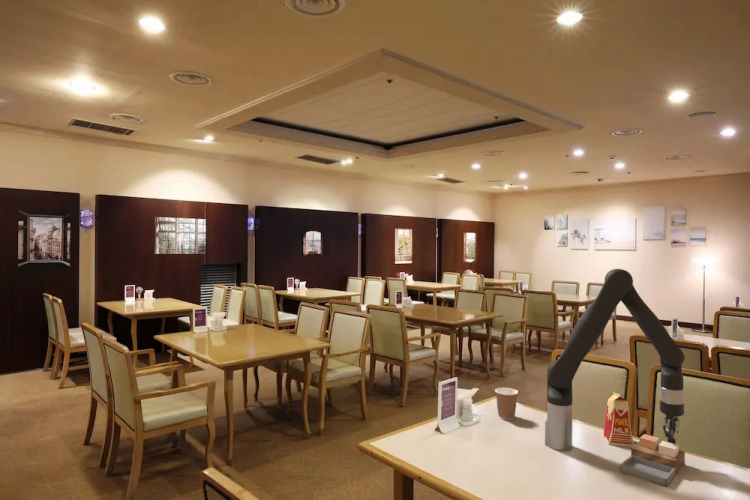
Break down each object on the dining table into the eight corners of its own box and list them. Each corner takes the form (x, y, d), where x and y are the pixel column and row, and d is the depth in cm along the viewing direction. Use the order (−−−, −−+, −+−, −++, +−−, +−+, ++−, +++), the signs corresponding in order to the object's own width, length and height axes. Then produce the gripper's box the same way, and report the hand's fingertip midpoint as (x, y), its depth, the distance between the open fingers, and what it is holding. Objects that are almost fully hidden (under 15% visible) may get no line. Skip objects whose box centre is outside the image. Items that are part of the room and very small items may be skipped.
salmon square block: (639, 445, 172) (639, 437, 172) (644, 441, 175) (644, 434, 175) (655, 450, 168) (655, 441, 168) (659, 446, 172) (659, 438, 171)
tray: (620, 471, 162) (620, 464, 162) (631, 461, 170) (631, 455, 170) (666, 486, 152) (666, 479, 152) (675, 475, 160) (675, 468, 160)
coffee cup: (499, 411, 221) (499, 386, 221) (521, 415, 216) (521, 390, 215) (491, 417, 213) (491, 391, 213) (513, 422, 207) (513, 395, 207)
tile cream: (658, 453, 166) (658, 444, 166) (662, 449, 169) (662, 440, 169) (674, 457, 162) (674, 449, 162) (678, 453, 165) (678, 445, 165)
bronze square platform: (631, 461, 170) (631, 448, 170) (641, 451, 178) (642, 438, 178) (675, 475, 160) (675, 461, 160) (684, 464, 168) (684, 450, 168)
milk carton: (634, 446, 183) (634, 396, 182) (608, 444, 184) (609, 394, 184) (626, 437, 192) (626, 389, 191) (602, 435, 193) (602, 387, 193)
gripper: (665, 393, 176) (664, 439, 176) (654, 401, 167) (654, 450, 167) (688, 398, 170) (688, 445, 171) (679, 407, 161) (678, 456, 161)
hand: (671, 447), depth 169 cm, fingers closed
